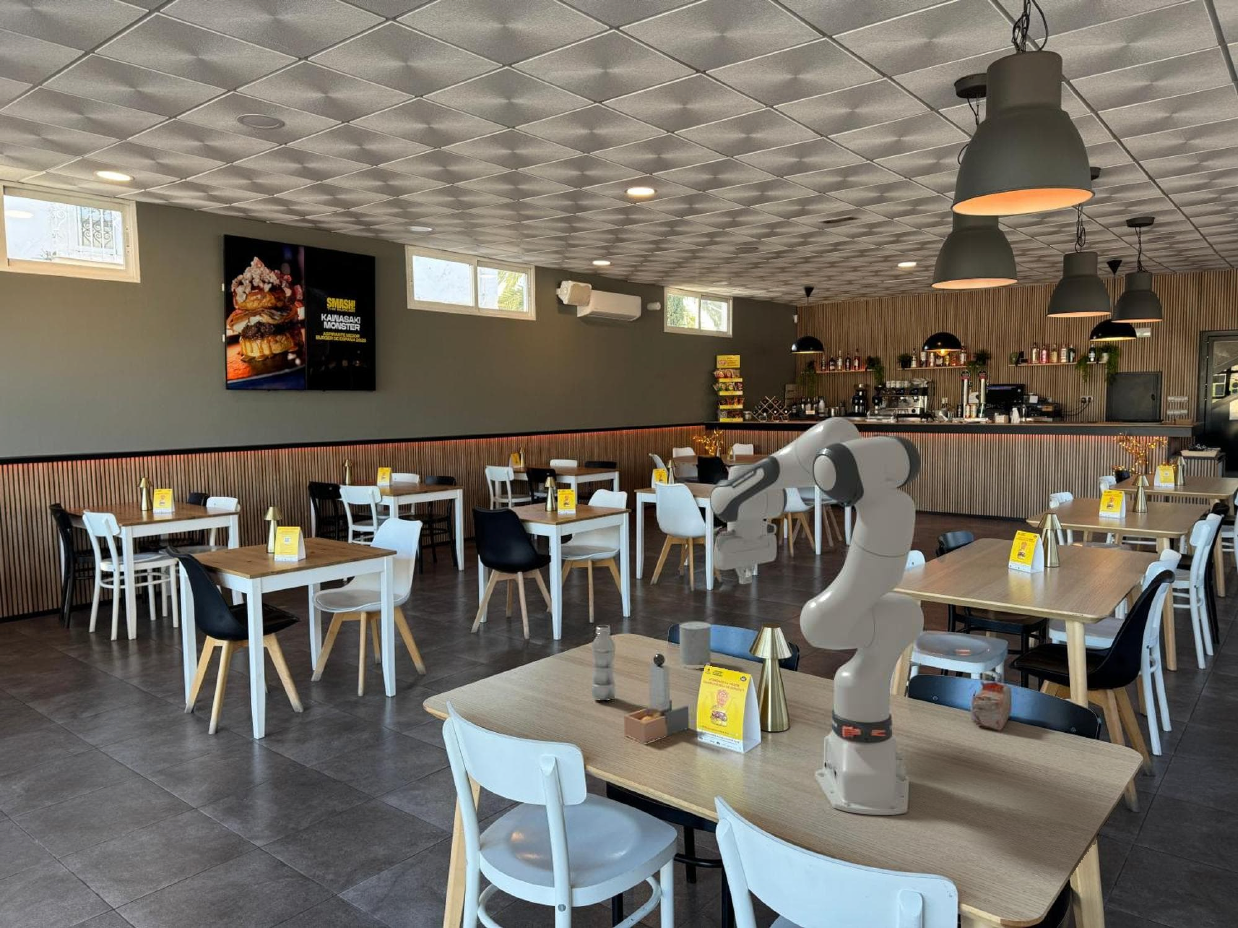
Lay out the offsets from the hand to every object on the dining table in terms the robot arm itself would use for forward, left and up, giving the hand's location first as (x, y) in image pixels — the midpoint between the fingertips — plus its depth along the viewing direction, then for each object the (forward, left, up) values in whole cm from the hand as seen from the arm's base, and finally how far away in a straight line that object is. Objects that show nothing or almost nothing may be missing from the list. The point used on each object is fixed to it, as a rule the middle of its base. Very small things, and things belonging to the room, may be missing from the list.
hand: (745, 583), depth 207 cm
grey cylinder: (+43, +16, -34) cm, 57 cm away
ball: (-15, +23, -32) cm, 42 cm away
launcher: (-10, +19, -34) cm, 40 cm away
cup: (-16, +23, -34) cm, 44 cm away
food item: (+4, -60, -34) cm, 69 cm away
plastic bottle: (+8, +38, -34) cm, 52 cm away
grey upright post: (-13, +21, -31) cm, 39 cm away
